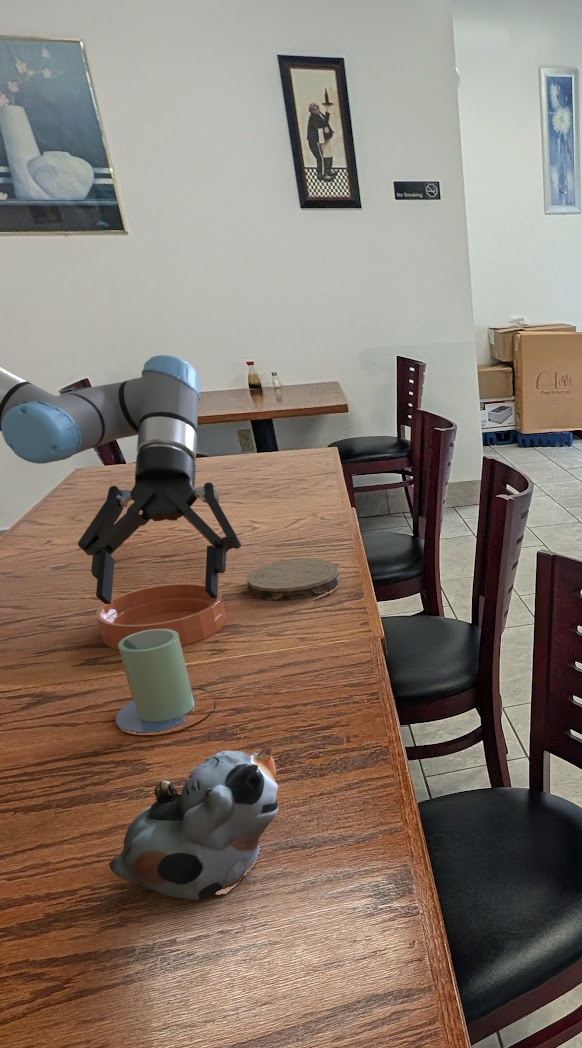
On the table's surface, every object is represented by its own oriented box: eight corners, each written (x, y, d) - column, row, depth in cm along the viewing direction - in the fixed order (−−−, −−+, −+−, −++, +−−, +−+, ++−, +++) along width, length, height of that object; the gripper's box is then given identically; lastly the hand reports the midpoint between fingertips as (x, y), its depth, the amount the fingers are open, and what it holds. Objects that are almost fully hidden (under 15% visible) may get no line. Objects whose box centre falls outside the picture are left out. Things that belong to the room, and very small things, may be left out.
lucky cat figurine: (161, 822, 86) (205, 703, 84) (269, 864, 87) (315, 747, 85) (81, 883, 72) (132, 740, 70) (212, 932, 73) (266, 793, 71)
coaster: (97, 735, 103) (96, 731, 103) (146, 690, 114) (145, 687, 114) (190, 737, 102) (189, 733, 102) (230, 692, 113) (229, 688, 113)
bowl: (79, 655, 124) (70, 625, 122) (141, 610, 141) (134, 583, 139) (196, 657, 123) (189, 626, 121) (245, 611, 140) (239, 583, 138)
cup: (126, 721, 105) (106, 650, 100) (153, 695, 111) (136, 627, 107) (179, 722, 105) (161, 651, 100) (204, 696, 111) (188, 628, 106)
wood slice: (243, 608, 141) (240, 592, 140) (255, 577, 155) (252, 562, 154) (338, 600, 144) (336, 584, 142) (341, 570, 158) (339, 556, 156)
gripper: (265, 470, 120) (262, 603, 113) (85, 476, 117) (71, 613, 110) (251, 440, 113) (247, 580, 106) (59, 446, 110) (43, 590, 103)
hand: (157, 597), depth 108 cm, fingers open, 13 cm apart
